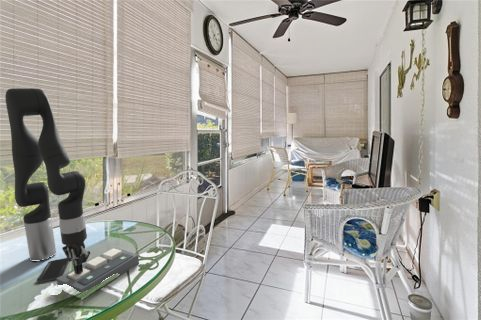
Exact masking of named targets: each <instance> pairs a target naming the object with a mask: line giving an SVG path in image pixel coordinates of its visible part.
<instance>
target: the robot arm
mask: <svg viewBox="0 0 481 320" xmlns="http://www.w3.org/2000/svg"><path fill="white" fill-rule="evenodd" d="M4 98H5V106H6V111H7V115H8V122H9V126H10V127H9V128H10V135H11V154H12V162H13V170H14V199H15V203H16V205H17V206H18V207H20V208H27V207H31V206H32V207H33V206H36V207H35V208H34V209H33V210H30V211H29V212H27V213H26V214H24V215H23V224H24V225H23V226H24V229H25V230H24V232H25V237H26V243H27V248H28V255H29V260H30V259H31V260H42V259H47V258H48V257H50V256H52V255H54V254H55V253H56V254H57V250H56V249H57V248H56V243H55V235H54V229H53V228H54V227H53V221H52V214H51V208H50V207H51V206H50V193H52V194H53V195H55V196H63V195H67V194H68V196H67V197H65V198H64V199H63V200H61V201H59V202H58V204H57V210H58V211H57V212H58V216H59V232H60V238H61V244H63V245H64V246H62V248H61V249H62V251H63V252H64V255H65V256H66V258H68V260H69V263H70V262H71V264H72V266H73V269H74V273H75V274H80V273H82V272H83V267H82V265H83V264H85V263H87V262H88V261H87V260H88V259H89V257H90V255H91V251H90V250H86V245H85V241H86V239H87V237H88V236H87V235H88V234H87V228H86V219H85V216H84V210H83V209H84V208H83V201H84V200H83V199H84V194H85V189H86V178H85V176H84V175H83V173H82V172H80V171H77V170H73V171H68V172H64V173H61V169H63V168H66V167H67V166H69V165H70V163H71V161H70V157H69V155H68V152H67V151H66V149H65V147H64V145H63V141H62V140H61V137H60V134H59V130H58V126H57V122H56V118H55V117H54V112H53V108H52V106H51V103H50V102H51V101H50V100H49V97H48V95H47V93H46V92H45V91H44V90H43V89H41V88H36V87H35V88H31V87H30V88H28V87H27V88H17V87H16V88H9V89H7V90H6V91H5V97H4ZM29 116H30V117H31V116H40V117H41V120H42V129H41V131H40V134H39V138H38V137H37V136H36V134H34V133H33V132H32V131H31V130H29V128H28V127H27V126H26V124H25V122H24V117H29ZM43 162H44V165H45V169H46V177H47V179H46V180H47V183H46V182H44V181H43V182H42V181H40V182H33V183H29V181H30V179H31V177H32V176H33V175H34V174H35V173H36V172H37V171H38V170H39V168H40V167H41V165H42V164H43ZM49 192H50V193H49ZM37 205H38V206H37ZM56 254H55V255H56ZM55 255H54V256H55ZM47 260H48V259H47Z"/></svg>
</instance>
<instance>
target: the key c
mask: <svg viewBox="0 0 481 320" xmlns="http://www.w3.org/2000/svg"><path fill="white" fill-rule="evenodd" d="M115 248H116V247H113V248H112V249H110V250H107V251H105V252H104V253H102V254H103V258H105V259H107V260H110V261H112V260H114V259H116V258H118V257H119V256H121V255H122V251H121V250H118V249H119V248H118V249H115Z"/></svg>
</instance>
